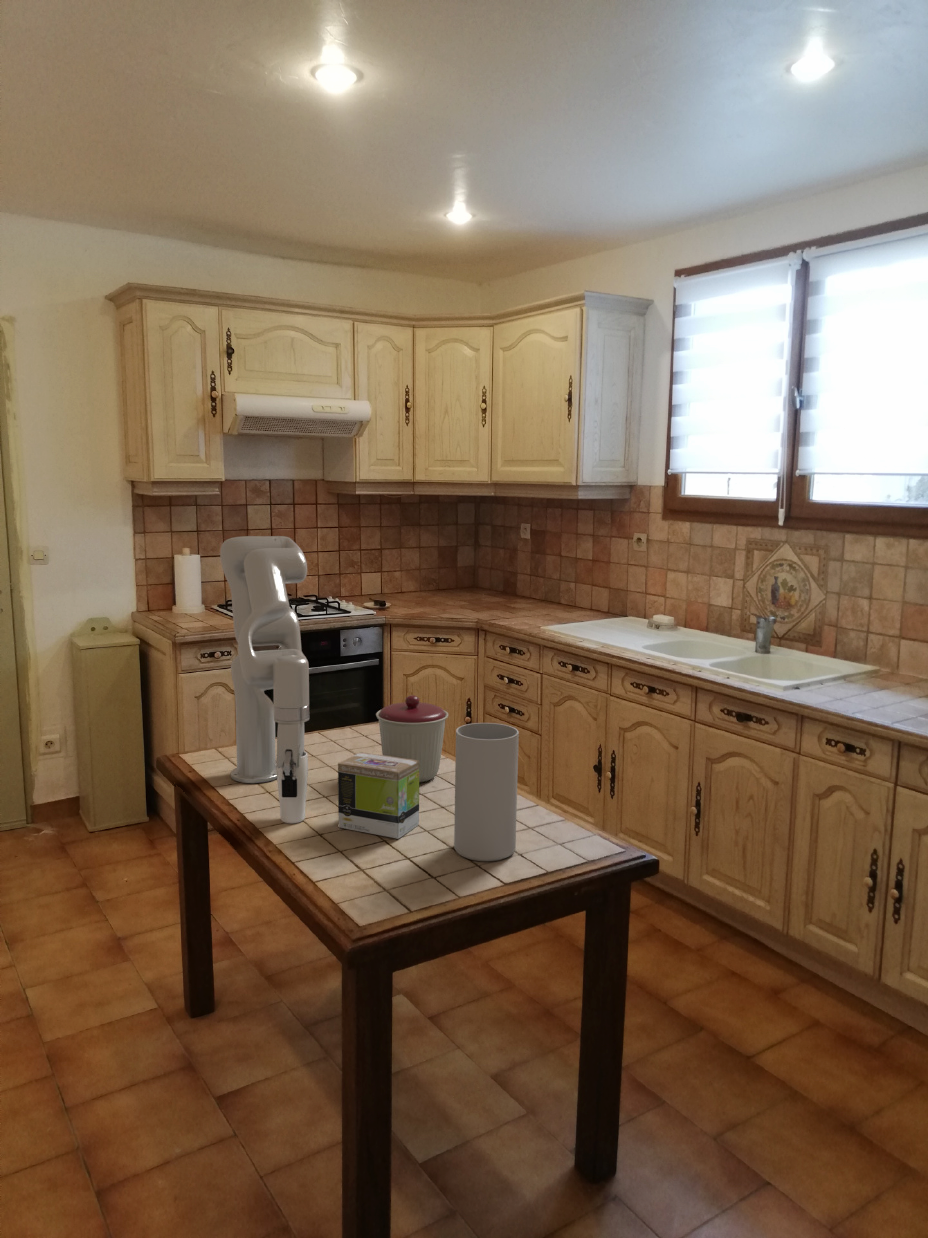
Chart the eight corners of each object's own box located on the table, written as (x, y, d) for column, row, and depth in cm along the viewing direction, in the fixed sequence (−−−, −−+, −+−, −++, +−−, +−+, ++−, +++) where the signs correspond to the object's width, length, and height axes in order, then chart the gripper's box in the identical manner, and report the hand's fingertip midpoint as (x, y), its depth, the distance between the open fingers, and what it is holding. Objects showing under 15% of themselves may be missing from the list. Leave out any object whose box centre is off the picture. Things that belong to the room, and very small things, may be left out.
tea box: (420, 825, 196) (421, 759, 194) (398, 841, 187) (398, 772, 185) (361, 813, 203) (361, 749, 200) (336, 828, 194) (336, 762, 191)
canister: (434, 763, 240) (435, 685, 236) (457, 784, 223) (458, 701, 220) (367, 769, 233) (368, 690, 230) (386, 792, 216) (387, 707, 213)
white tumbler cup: (301, 827, 194) (300, 759, 192) (272, 824, 195) (271, 757, 193) (313, 815, 201) (312, 750, 198) (284, 813, 202) (283, 748, 200)
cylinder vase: (455, 837, 190) (457, 722, 186) (514, 839, 189) (517, 723, 186) (452, 862, 177) (454, 739, 174) (516, 864, 177) (519, 740, 173)
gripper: (279, 703, 203) (281, 776, 205) (267, 723, 185) (268, 803, 188) (313, 703, 203) (314, 776, 205) (304, 723, 186) (305, 803, 188)
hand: (292, 789), depth 197 cm, fingers open, 9 cm apart
